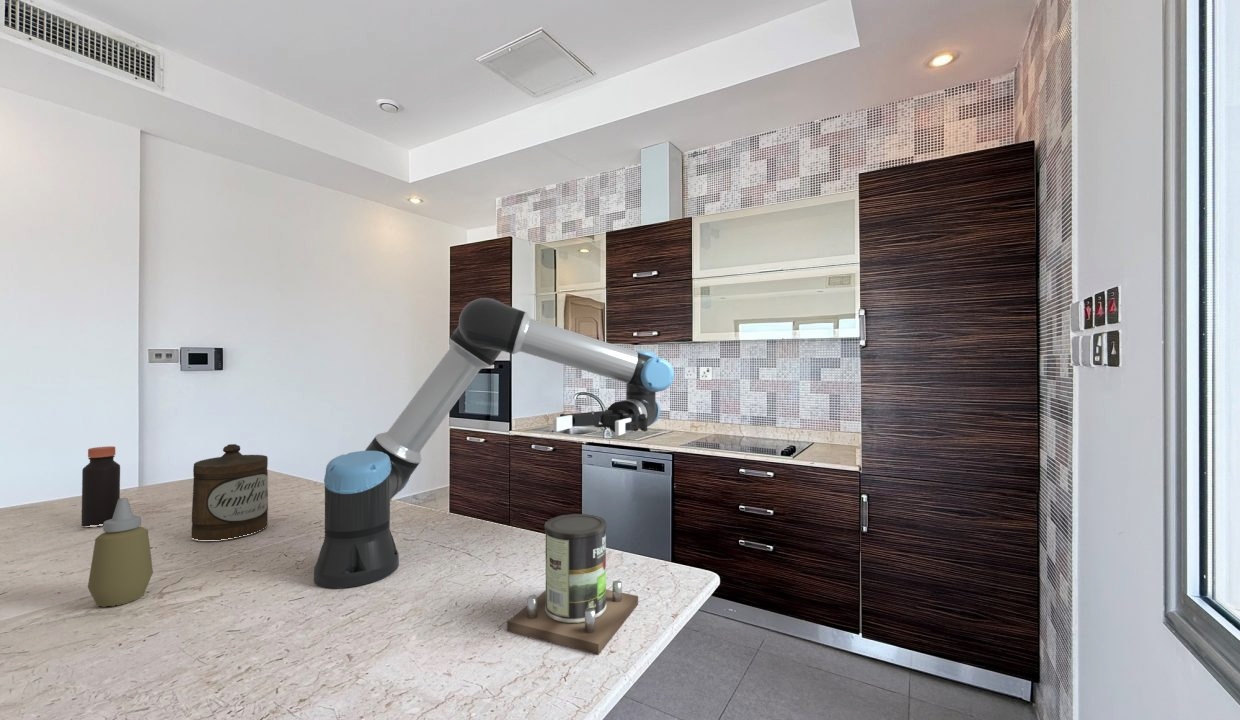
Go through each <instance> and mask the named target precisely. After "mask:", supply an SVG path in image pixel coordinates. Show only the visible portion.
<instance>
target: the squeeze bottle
mask: <svg viewBox="0 0 1240 720" xmlns="http://www.w3.org/2000/svg"><path fill="white" fill-rule="evenodd" d="M141 524H142V517H141V516H140V515H135V514H134V515H133V512H132V507H131V504H130V501H129V498H128V497H121V498H120V499H118V502H117V505H116V508H115V511H114V515H113V518H112V519H109V520H107V521H105V522H104V523H103V526H102V528H103V529H102V530H103V532H102V533H101V534H100V535H98V536H97V537H96V538H95V540H94V546H93V551H92V552H93V553H92V558H91V565H90V570H89V578H88V582H87V589H88V590H89V593H90V595H91V597H92V598H93V601H94V602H95V605H96V606H97V605H98V606H97V607H99V606H102V607H101V608H107V607H106V606H112V607H116V606H115V605H117V606H122V605H125V604H128V603H132V602H134V601H136V599H137V600H139V599H140V598H142V597H144V594H145V593H146V590H147V588H148V585H149V583H150V581H151V578H152V577H153V574H154V570H153V569H154V568H153V561H152V553H151V547H150V546H151V545H150V544H151V543H150V538H149V537H150V535H149V529H147V528H145V527H143V526H141ZM141 596H142V597H141ZM138 598H139V599H138ZM133 600H134V601H133ZM131 601H132V602H131ZM121 604H122V605H121Z"/></svg>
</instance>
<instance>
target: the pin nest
mask: <svg viewBox="0 0 1240 720" xmlns="http://www.w3.org/2000/svg"><path fill="white" fill-rule="evenodd" d="M622 589H623V582H622V581H621V580H619V579H618V580H613V581H612V590H609V589H606V610H605V612H604V613H603V614H602V615H601V616H599V617H597V618H595V609H594V608H587V609H585V622H581V623H565V622H560V621H556V620H554V619H552V618H551V617H549V616H548V615H547V614H546V611H545V606H546V590H544V591H543V592H542V593H541V594H540V595H538V596H537V595H534V594H532V595H528V596H527V597H526V598H527V599H526V601H527V602H526V605H525V606H524V607H523V608H522V609H521V610H519V611H518V612H517V613H516V614H514V615H513V616H512V617H510V619H507V621H506V623H507V624H506V625H507V626H506V627H507V628H506V629H507V630H506V631H507V632H512V633H514V634H517V635H522V636H525V637H526V636H527V637H529V638H534V639H538V640H542V641H545V642H549V643H553V644H557V645H560V646H564V647H568V648H572V649H576V650H579V651H583V652H588V653H589V654H590V653H591V654H593V655H594V654H595V655H600V653H601V652H602V651H603V650H604V648H605V647H606V646H607V645H608V643H610V641H611V640H612V639H613V637H614V636H615V634H616V633H617V632H618V631H619V630H620V628H621V627H622V626H623V625H624V623H625V622H626V620H627V619H628V618H629V616H631V614H632V613H633V612H634V610H635V609H636V608H637V606H638V605H639V596H638V595H635V594H631V593H630V594H629V593H624V592H622V591H623V590H622Z"/></svg>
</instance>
